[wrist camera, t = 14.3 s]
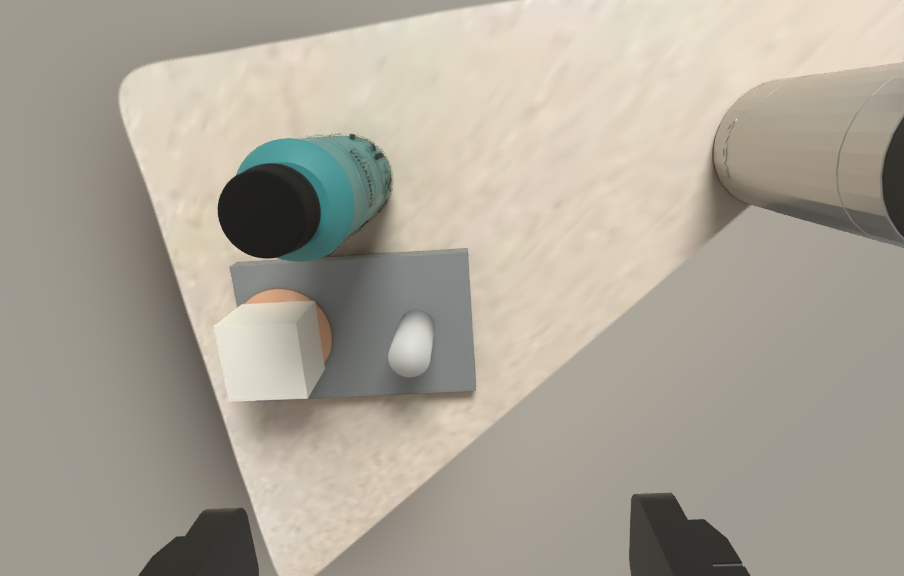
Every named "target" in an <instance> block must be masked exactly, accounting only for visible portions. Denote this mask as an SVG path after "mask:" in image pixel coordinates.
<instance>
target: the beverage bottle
mask: <svg viewBox="0 0 904 576" xmlns="http://www.w3.org/2000/svg"><path fill="white" fill-rule="evenodd" d="M335 135H336V134H335ZM338 135H339V134H338ZM315 136H316V135H315ZM317 136H318V135H317ZM320 136H321V135H320ZM331 136H332V135H331ZM331 136H330V137H315V138H310V137H309V138H307V137H306V139H304V138H303V139H299V138H298V139H291V138H287V139H278V140H274V141H270V142H267V143H265V144H263V145H261V146H259V147H257V148H256V149H255V150H254V151H252V152H251V153H250V154H249V155H248V156H247V157H246V158H245V160H244V161H243V162H242V164H241V166H240V168H239V169H238V172H237V174H236V176H235V177H233V178H232V179H231V180H230V181H229V182H228V183H227V184H226V186H225V187H224V189H223V191H222V193H221V195H220V198H219V202H218V217H219V222H220V225H221V227H222V230H223V232H224V233H225V235H226V237H227V238H228V239H229V240H230V242H231V243H232V244H233V245H234V246H236V247H237V248H238V249H239V250H241V251H242V252H244V253H246V254H248V255H251V256H254V257H258V258H279V259H282V260H286V261H292V262H308V261H313V260H317V259H320V258H322V257H324V256H326V255H328V254H330V253H331V252H333V251H334V250H335V249H336V248H337V247H339V246H340V245H341V243H342V242H343V241H344V240H345V239H346V238H347V237H348V236H349V237H350V236H352V235H353V233H354V232H355V231H356V230H357V229H358V228H361V227H362V226H363V225H365V224H366V223H367V222H368V221H369V220H371V219H373V218H371V217H372V216H373V215H374V214H375V213H376V212H377V211H378V210H379V211H378V213H379V212H380V210H383V209H382V207H384V205H385V204H386V203H387V201H388V199H387V198H388V196H389V193H390V192H391V191H392V189H393V188H392V189H391V183H392V181H393V180H392V178H391V173H393V172H391V171H390V167H389V164H388V163H390V162H387V161H388V160H386V159H387V158H385V157H387V156H384V155H383V154H384V153H382V152H381V151H380V150H379V149H378V148H377V147H376V146H375V145H374V143H373V142H372V143H373V144H372V143H371V142H370V141H371V140H370V141H368V139H367V140H366V139H363V138H364V137H363V138H359V137H357V135H356V137H355V134H354V135H353V134H350V136H333V137H331ZM359 136H360V135H359ZM311 137H312V136H311ZM313 137H314V136H313ZM361 137H362V136H361ZM300 138H301V137H300ZM377 146H378V145H377ZM378 147H379V146H378ZM379 148H380V147H379ZM380 149H381V148H380ZM381 150H382V149H381ZM391 169H392V168H391ZM390 195H391V194H390ZM389 199H390V197H389ZM375 216H376V215H375ZM370 218H371V219H370ZM368 219H369V220H368ZM368 223H369V222H368ZM362 228H363V227H362ZM358 230H361V229H358Z"/></svg>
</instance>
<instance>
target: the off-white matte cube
mask: <svg viewBox="0 0 904 576" xmlns="http://www.w3.org/2000/svg"><path fill="white" fill-rule="evenodd" d="M214 332H215V337H216V342H217V347H218V352H219V357H220V362H221V367H222V371H223V376H224V381H225V386H226V391H227V396H228V401H229V402H233V401H258V400H283V399H308V397H309V396H310V394H311V392H312V390H313V389H314V387H315V385H316V384H317V382H318V380H319V378H320V377H321V375H322V373H323V372H324V370H325V365H324V358H323V351H322V344H321V337H320V330H319V323H318V316H317V309H316V302H315V301H297V302H277V303H256V304H241V305H240V306H239V307H238V308H236V309H235V310H234V311H233V312H231V313H230V314H229V315H228V316H226V317H225V318H224V319H223V320H221V321H220V322H219V323H217V324H216V325H215V326H214Z"/></svg>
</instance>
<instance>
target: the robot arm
mask: <svg viewBox="0 0 904 576" xmlns="http://www.w3.org/2000/svg"><path fill="white" fill-rule="evenodd" d="M714 164H715V168H716V172H717V175H718V177H719V179H720V181H721V183H722V184H723V186H724V187H725V188H726V189H727V190H728V191H729V192H730V194H732V195H733V196H735V197H736V198H738V199H739V200H740V201H743V202H746V203H748V204H751V205H754V206H758V207H761V208H765V209H769V210H772V211H775V212H778V213H782V214H785V215H789V216H792V217H795V218H799V219H802V220H806V221H810V222H813V223H817V224H820V225H824V226H827V227H831V228H834V229H838V230H841V231H845V232H849V233H852V234H855V235H859V236H863V237H866V238H870V239H873V240H877V241H880V242H884V243H888V244H892V245H895V246H899V247H902V248H904V62H903V63H896V64H888V65H881V66H874V67H867V68H860V69H853V70H846V71H838V72H831V73H824V74H816V75H808V76H801V77H794V78H787V79H780V80H775V81H771V82H768V83H764V84H762V85H760V86H758V87H756V88H754V89H752V90H750V91H749V92H747V93H746V94H745V95H744V96H742V97H741V98H740V99H738V100H737V102H736V103H735V104H734V105H733V106H732V107H731V108H730V109H729V111H728V112H727V114H726V115H725V117H724V119H723V120H722V122H721V124H720V126H719V129H718V132H717V134H716V138H715V144H714ZM629 561H630V569H631V576H750V574H749V573H748V571H747V569H746V568H745V567H743V566H742V561H741V560H740V558H739V557H738V555H737V553H736V552H735V550H734V549H733V547H732V545H731V544H730V542H729V541H728V539H727V538H726V537H725V536H724V535H722V534H721V533H720V532H719V531H718V530H716V529H715V528H714V527H713V526H712V525H710V524H709V523H708V522H706V520H704V519H699V520H688V519H687V517H686V516H685V514H684V512H683V510H682V508H681V507H680V505H679V503H678V501H677V499H676V498H675V496H674V495H673V494H672V493H651V494H634V495H633V496H632V499H631V518H630V549H629ZM139 576H259V568H258V562H257V558H256V553H255V548H254V544H253V539H252V535H251V530H250V525H249V521H248V516H247V513H246V511H245V510H244V509H243V508H224V509H206V510H204V511H203V512H202V513H201V514H200V515H199V517H198V518H197V520H196V521H195V522H194V524H193V525H192V527H191V528H190V530H189V531H188V533H187V534H186V536H182V537H176V538H174V539H173V540H172V541H171V542H170V543H168V544H167V545H166V546H165V547H163V548H162V549H161V550H160V551H159V552H157V553H156V554H155V555H154V556H152V558H151V559H150V561H149V562H148V563H147V565H146V566H145V567H144V569H143V570H142V571H141V573H140V574H139Z"/></svg>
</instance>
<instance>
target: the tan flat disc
mask: <svg viewBox="0 0 904 576" xmlns="http://www.w3.org/2000/svg"><path fill="white" fill-rule="evenodd" d="M297 301H314V300H312V299H311V298H310V297H308V296H306V295H304V294H303V293H300V292H298V291H294V290H291V289H284V288H276V289H269V290H265V291H263V292H260V293H258V294H256V295H255V296H253V297H252V298H251V299H249V300H248V301H247V302H246V303H245V304H256V303H277V302H297ZM316 309H317V316H318V323H319V330H320V337H321V344H322V351H323V358H324V363H325V361H326V360H327V358H328V356H329V354H330V351H331V348H332V343H333V333H332V328H331V324H330V322H329V319H328V317H327V315H326V314H325V312H324V311H323V309H322V308H321V307H320V306H319V305H318V304H317V303H316Z"/></svg>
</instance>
